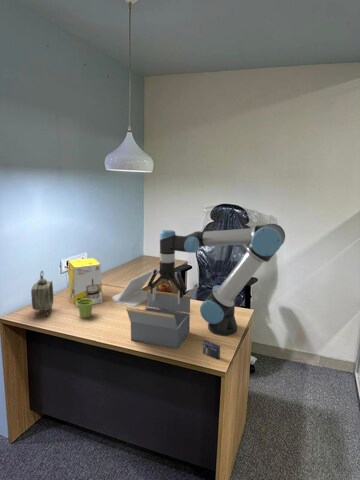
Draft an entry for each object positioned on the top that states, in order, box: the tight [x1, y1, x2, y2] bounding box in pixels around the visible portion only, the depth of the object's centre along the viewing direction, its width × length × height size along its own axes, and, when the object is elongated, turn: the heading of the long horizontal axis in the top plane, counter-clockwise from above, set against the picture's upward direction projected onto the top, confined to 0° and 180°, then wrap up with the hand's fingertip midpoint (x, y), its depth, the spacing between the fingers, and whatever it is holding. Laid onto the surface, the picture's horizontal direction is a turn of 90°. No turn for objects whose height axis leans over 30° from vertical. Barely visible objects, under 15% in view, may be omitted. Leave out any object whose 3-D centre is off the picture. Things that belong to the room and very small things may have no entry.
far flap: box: [146, 289, 191, 314], centre depth 171 cm, size 24×9×1 cm
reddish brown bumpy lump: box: [155, 283, 172, 293], centre depth 197 cm, size 15×8×15 cm, turn 141°
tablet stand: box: [111, 269, 155, 307], centre depth 215 cm, size 18×25×17 cm
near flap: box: [125, 306, 177, 330], centre depth 152 cm, size 24×9×1 cm
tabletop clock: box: [30, 270, 54, 317], centre depth 189 cm, size 14×9×25 cm, turn 12°
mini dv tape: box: [202, 340, 221, 360], centre depth 147 cm, size 8×2×6 cm, turn 51°
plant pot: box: [77, 299, 94, 319], centre depth 187 cm, size 9×9×9 cm
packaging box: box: [67, 257, 103, 308], centre depth 208 cm, size 16×16×25 cm
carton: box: [130, 306, 191, 350], centre depth 164 cm, size 24×18×10 cm
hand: (166, 301), depth 169 cm, fingers open, 13 cm apart
